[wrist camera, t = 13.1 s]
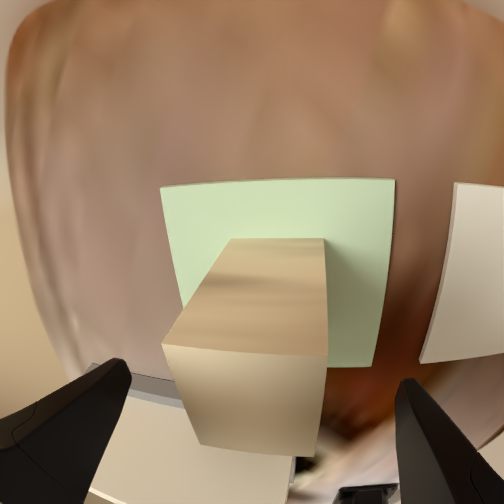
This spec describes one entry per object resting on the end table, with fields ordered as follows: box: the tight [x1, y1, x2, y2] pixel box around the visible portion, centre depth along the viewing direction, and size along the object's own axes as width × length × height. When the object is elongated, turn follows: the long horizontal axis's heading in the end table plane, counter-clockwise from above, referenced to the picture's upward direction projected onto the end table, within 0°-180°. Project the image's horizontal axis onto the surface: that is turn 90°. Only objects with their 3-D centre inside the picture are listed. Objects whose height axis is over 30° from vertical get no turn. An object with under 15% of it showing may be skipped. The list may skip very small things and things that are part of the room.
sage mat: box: [160, 177, 395, 367], centre depth 14 cm, size 10×10×1 cm
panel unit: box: [83, 363, 296, 504], centre depth 17 cm, size 12×16×10 cm
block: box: [161, 238, 328, 457], centre depth 11 cm, size 5×4×7 cm
